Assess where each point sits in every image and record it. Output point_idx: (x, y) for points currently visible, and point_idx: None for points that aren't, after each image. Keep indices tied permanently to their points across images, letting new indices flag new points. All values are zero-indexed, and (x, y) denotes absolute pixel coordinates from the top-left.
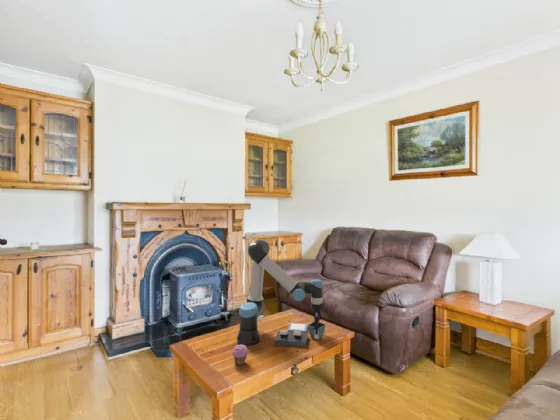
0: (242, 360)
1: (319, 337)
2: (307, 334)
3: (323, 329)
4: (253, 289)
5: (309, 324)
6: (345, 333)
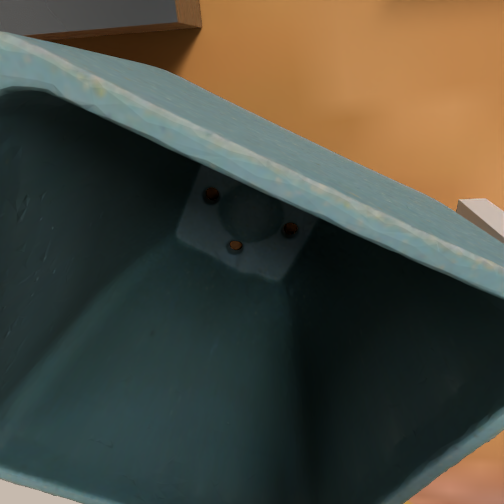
0: None
1: (165, 280)
2: (124, 27)
3: (235, 431)
4: None
5: (118, 114)
6: (441, 497)
